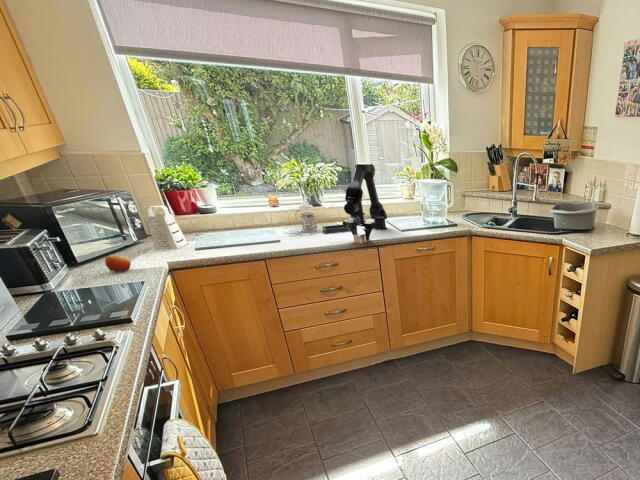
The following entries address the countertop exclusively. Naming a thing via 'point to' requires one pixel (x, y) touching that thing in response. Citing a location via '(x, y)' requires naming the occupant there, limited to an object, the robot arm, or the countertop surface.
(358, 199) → the robot arm
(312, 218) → the french press
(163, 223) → the grater
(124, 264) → the fruit
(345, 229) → the shoe tray
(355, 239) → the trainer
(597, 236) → the countertop surface
